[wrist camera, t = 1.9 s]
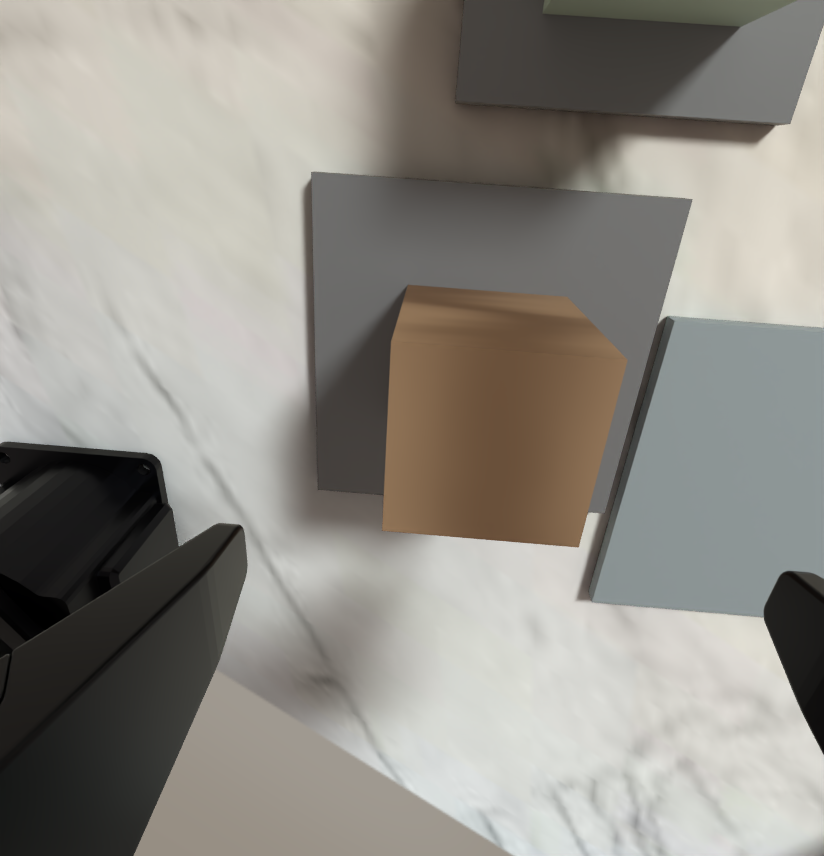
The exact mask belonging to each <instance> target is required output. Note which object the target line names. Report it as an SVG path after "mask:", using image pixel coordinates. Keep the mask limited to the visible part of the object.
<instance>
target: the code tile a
mask: <svg viewBox="0 0 824 856" xmlns="http://www.w3.org/2000/svg"><path fill="white" fill-rule="evenodd" d="M311 180H312V229H313V278H314V326H315V375H316V424H317V473H318V490H329V491H341V492H353V493H365V494H377V495H384V481H385V459H386V438H387V417H388V396H389V375H390V354H391V340H392V337H393V333H394V330H395V327H396V323H397V320H398V317H399V313H400V310H401V306H402V303H403V300H404V296H405V293H406V290H407V286H408V285H418V286H432V287H445V288H458V289H471V290H484V291H498V292H511V293H524V294H537V295H550V296H564V297H568V298H569V299H570V300H571V301H572V302H573V303H574V304H575V305H576V307H577V308H578V309H579V310H580V311H581V312H582V313H583V314H584V315H585V316H586V317H587V318H588V319H589V320H590V321H591V322H592V323H593V324H594V325H595V326H596V327H597V328H598V329H599V331H600V332H601V333H602V334H603V335H604V336H605V337H606V338H607V339H608V340H609V341H610V342H611V343H612V344H613V345H614V346H615V347H616V348H617V349H618V350H619V351H620V352H621V353H622V355H623V356H624V357H625V358H626V359H627V360H628V361H627V364H626V368H625V372H624V376H623V380H622V384H621V387H620V391H619V395H618V399H617V403H616V406H615V410H614V414H613V418H612V422H611V426H610V429H609V433H608V437H607V441H606V445H605V448H604V452H603V456H602V460H601V464H600V468H599V471H598V475H597V479H596V483H595V487H594V490H593V494H592V498H591V502H590V506H589V509H588V512H593V513H605V510H606V507H607V503H608V499H609V496H610V492H611V489H612V485H613V482H614V478H615V474H616V471H617V467H618V464H619V460H620V457H621V453H622V449H623V446H624V442H625V439H626V435H627V432H628V428H629V424H630V421H631V417H632V414H633V410H634V407H635V403H636V399H637V396H638V392H639V389H640V385H641V382H642V378H643V374H644V371H645V367H646V364H647V360H648V357H649V353H650V349H651V346H652V342H653V339H654V335H655V332H656V328H657V324H658V321H659V317H660V314H661V310H662V307H663V303H664V299H665V296H666V292H667V289H668V285H669V282H670V278H671V274H672V271H673V267H674V264H675V260H676V257H677V253H678V249H679V246H680V242H681V239H682V235H683V232H684V228H685V224H686V221H687V217H688V214H689V210H690V207H691V203H692V199H685V198H672V197H659V196H645V195H631V194H617V193H603V192H589V191H575V190H561V189H547V188H533V187H520V186H506V185H492V184H478V183H464V182H450V181H436V180H422V179H408V178H394V177H381V176H367V175H353V174H339V173H325V172H311Z"/></svg>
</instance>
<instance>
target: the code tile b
mask: <svg viewBox="0 0 824 856" xmlns="http://www.w3.org/2000/svg"><path fill="white" fill-rule="evenodd" d="M543 6H544V0H464V8H463V19H462V31H461V43H460V54H459V66H458V77H457V89H456V101H455V103H460V104H474V105H489V106H503V107H518V108H532V109H547V110H561V111H575V112H590V113H604V114H619V115H633V116H648V117H662V118H677V119H691V120H706V121H720V122H735V123H749V124H764V125H785V124H790V123H791V120H792V117H793V114H794V111H795V108H796V105H797V102H798V99H799V96H800V93H801V90H802V87H803V84H804V81H805V78H806V75H807V72H808V69H809V66H810V63H811V60H812V57H813V55H814V52H815V49H816V46H817V43H818V40H819V37H820V34H821V31H822V28H823V25H824V0H797V1H795V2H793V3H791V4H788V5H786V6H784V7H782V8H780V9H778V10H776V11H774V12H771V13H769V14H767V15H765V16H763V17H761V18H759V19H757V20H754V21H752V22H750V23H748V24H746V25H744V26H742V27H738V26H722V25H707V24H692V23H677V22H662V21H646V20H631V19H616V18H601V17H586V16H570V15H555V14H542V13H543Z"/></svg>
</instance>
